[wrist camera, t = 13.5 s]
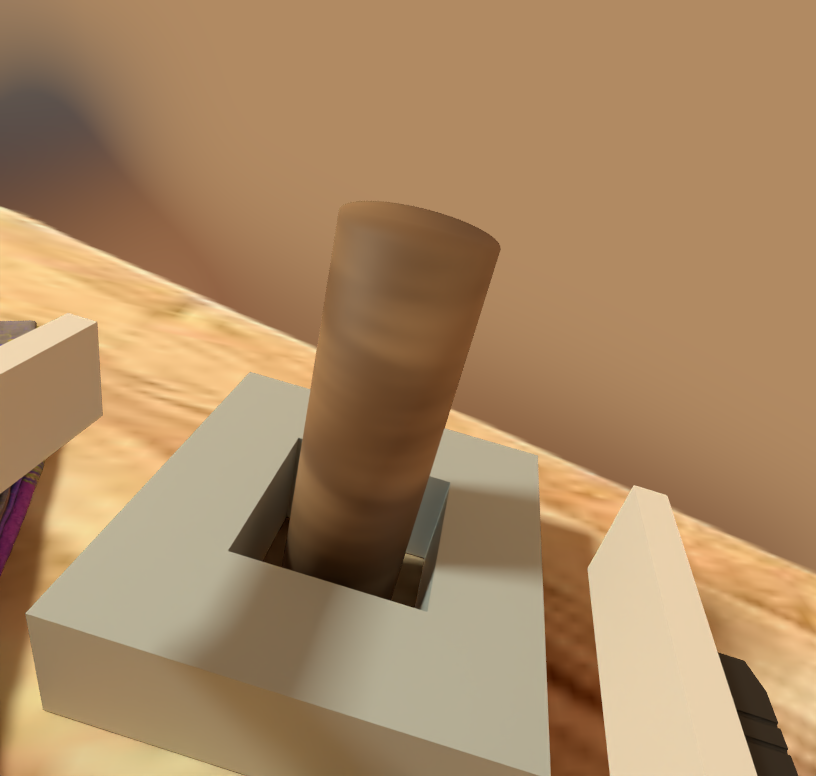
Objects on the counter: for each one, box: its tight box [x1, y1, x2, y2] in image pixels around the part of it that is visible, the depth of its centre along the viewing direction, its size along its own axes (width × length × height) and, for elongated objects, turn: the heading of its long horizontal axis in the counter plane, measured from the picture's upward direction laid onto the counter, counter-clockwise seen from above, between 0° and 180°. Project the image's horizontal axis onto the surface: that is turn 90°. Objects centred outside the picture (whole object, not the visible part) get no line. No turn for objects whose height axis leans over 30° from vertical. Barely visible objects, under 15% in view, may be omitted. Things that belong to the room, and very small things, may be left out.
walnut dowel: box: [282, 201, 500, 601], centre depth 19 cm, size 4×4×15 cm
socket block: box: [25, 372, 551, 776], centre depth 22 cm, size 14×14×4 cm
